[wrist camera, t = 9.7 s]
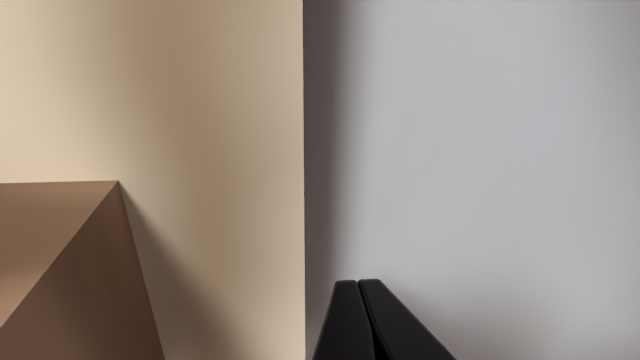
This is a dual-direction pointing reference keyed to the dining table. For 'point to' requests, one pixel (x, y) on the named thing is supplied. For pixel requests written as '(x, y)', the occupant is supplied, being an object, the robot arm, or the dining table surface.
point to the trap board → (176, 151)
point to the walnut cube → (71, 275)
